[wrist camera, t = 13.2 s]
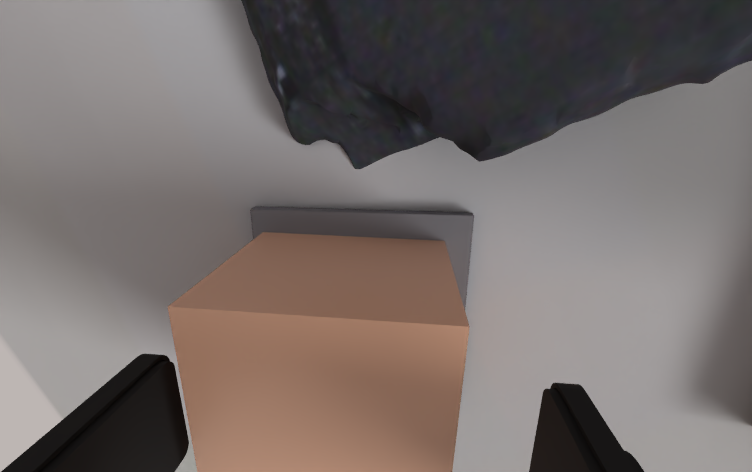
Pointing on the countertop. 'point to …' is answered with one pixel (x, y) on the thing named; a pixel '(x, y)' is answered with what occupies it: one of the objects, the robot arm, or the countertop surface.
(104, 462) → the robot arm
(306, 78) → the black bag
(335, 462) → the peach colored cube
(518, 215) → the countertop surface
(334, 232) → the mat
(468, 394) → the countertop surface
